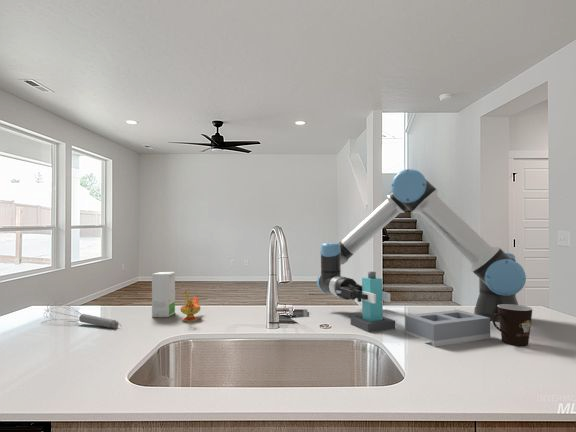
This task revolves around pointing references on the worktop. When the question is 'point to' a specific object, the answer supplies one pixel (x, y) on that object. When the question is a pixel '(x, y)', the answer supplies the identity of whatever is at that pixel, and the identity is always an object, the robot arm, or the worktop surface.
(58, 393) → the worktop surface
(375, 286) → the plug
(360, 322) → the frame
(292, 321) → the handgun
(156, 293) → the skincare box
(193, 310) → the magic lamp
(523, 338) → the coffee mug
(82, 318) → the kitchen whisk
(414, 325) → the block
